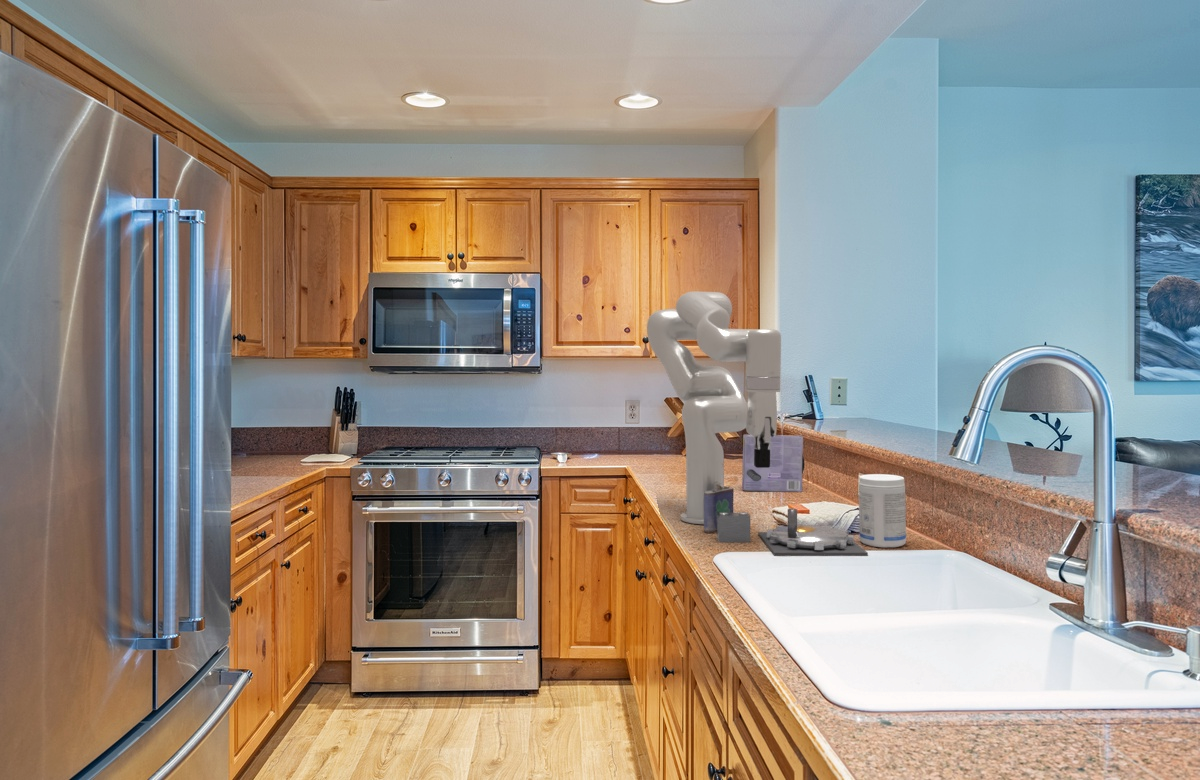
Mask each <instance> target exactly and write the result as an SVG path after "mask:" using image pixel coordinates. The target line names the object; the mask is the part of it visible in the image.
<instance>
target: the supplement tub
mask: <svg viewBox="0 0 1200 780" xmlns="http://www.w3.org/2000/svg"><path fill="white" fill-rule="evenodd" d="M858 480H859V481H858V508H859V509H858V513H859V514H858V518H859V519H858V520H859V521H858V522H859V523H858V524H859V540H860V542H861V543H863V544H864V545H867V546H870V547H876V548H893V549H894V548H899V547H902V546H904V545H905V544H906V541H907V520H906V519H907V515H906V513H907V512H906V511H907V509H906V483H905V477H903V476H901V475H897V474H886V473H885V474H884V473H883V474H882V473H872V474H862V475H860V476H859V479H858Z"/></svg>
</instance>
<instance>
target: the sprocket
mask: <svg viewBox="0 0 1200 780" xmlns="http://www.w3.org/2000/svg"><path fill="white" fill-rule="evenodd" d="M766 532H767V537H770V542H772V543H780V544H784V545H787V547H790V548H797V547H800V548H814V550H824V548H835V547H836V548H840V549H841V548H846V544H847V543H850V544H853V543H854V542H855V538H854V537H855V535H852V534H850V531H849V530H846V529H837V528H835V527H834V528H833V527H831V526H829V525H828V526H827V525H821V526H820V525H806V524H805V523H803V524H800V523H798V509H797V508H787V525H782V524H781V525H776V526H775V528H774V529H770V528H769V529H767V530H766Z"/></svg>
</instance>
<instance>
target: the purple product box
mask: <svg viewBox="0 0 1200 780" xmlns="http://www.w3.org/2000/svg"><path fill="white" fill-rule="evenodd" d="M742 443H743V444H742V476H741V477H742V479H741V480H742V481H741V482H742V484H741V485H742V486H741V488H742V489H743V491H744V492H769V493H770V492H773V493H775V492H777V493H778V492H793V493H794V492H796V493H798V492H799V493H802V492H803V474H804V471H805V467H806V466H805V464H806V463H805V457H804V454H803V452H804V436H803V435H784V434H783V435H781V434H780V435H779V434H776V435H775V436H774V437H771V443H770V467H769V468H757V467H755V466H754V449H755V446H754V436H752V435H750V434H743V437H742Z"/></svg>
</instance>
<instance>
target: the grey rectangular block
mask: <svg viewBox="0 0 1200 780" xmlns="http://www.w3.org/2000/svg"><path fill="white" fill-rule="evenodd" d="M716 539H717V541H718V543H751V514H749V513H748V512H746V511H740V512H733V513H726V512H720V513H717V532H716Z"/></svg>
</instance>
